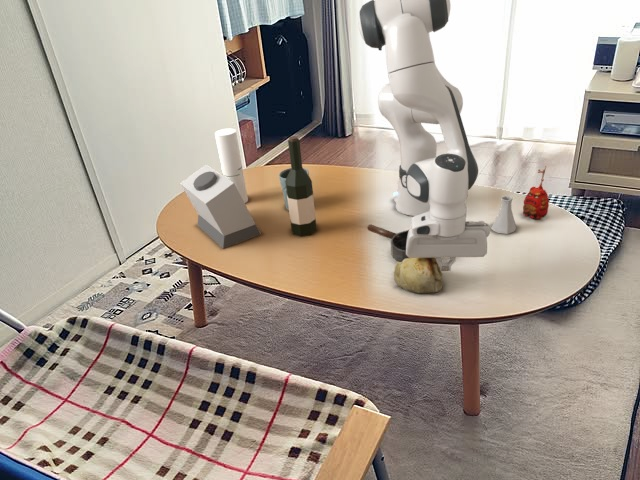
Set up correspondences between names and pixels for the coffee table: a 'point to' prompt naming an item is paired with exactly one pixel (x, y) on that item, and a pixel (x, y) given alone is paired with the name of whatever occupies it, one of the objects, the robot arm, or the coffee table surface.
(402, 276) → the pastry
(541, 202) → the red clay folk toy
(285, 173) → the drinking glass
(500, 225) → the flask
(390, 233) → the pan handle
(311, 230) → the wine bottle
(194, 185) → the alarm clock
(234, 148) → the cylindrical container
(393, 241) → the pan
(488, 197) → the coffee table surface
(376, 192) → the coffee table surface
